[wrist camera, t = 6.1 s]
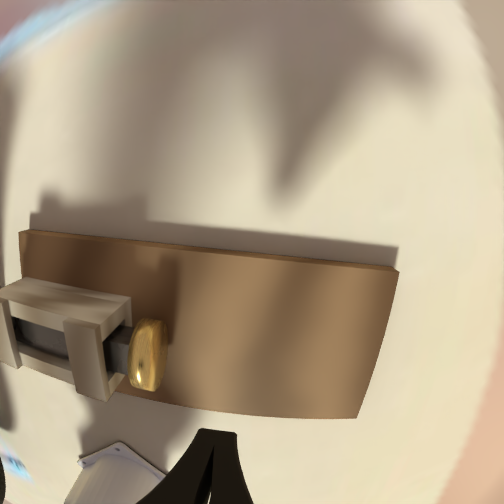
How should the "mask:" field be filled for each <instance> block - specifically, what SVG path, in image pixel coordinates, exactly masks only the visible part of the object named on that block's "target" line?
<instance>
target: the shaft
mask: <svg viewBox="0 0 504 504" xmlns="http://www.w3.org/2000/svg"><path fill="white" fill-rule="evenodd" d="M11 319H12V324H13V329H14V333H15V338H16V340H17V341H19V342H22V343H24V344H27V345H30V346H32V347H35V348H38V349H41V350H43V351H46V352H49V353H52V354H55V355H58V356H61V357H64V358H67V359H69V356H68V351H67V346H66V340H65V335H64V332H62V331H59V330H55V329H52V328H48V327H45V326H42V325H39V324H35V323H32V322H29V321H26V320H23V319H20V318H17V317H14V316H12V315H11ZM102 345H103V352H104V359H105V366H106V370H109V371H113V372H117V373H121V374H125V375H128V376H129V380H130V383H131V384H132V386H133V387H135V388H140V389H144V390H148V391H155V390H157V388H158V387H159V385H160V383H161V381H162V378H163V375H164V371H165V367H166V361H167V354H168V332H167V327H166V324H165V323H164V321H160V320H154V319H148V318H143V319H141V320H140V321H139V322H138V323H137V325H136V327H135V328H134V327H129V326H124V325H118V326H117V327H116V328H115V329H114V330H113V331H112V332H111V333H110V334H109V335H108V337H107V338H106V339H105V340H104V341H103V342H102Z"/></svg>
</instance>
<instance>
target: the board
mask: <svg viewBox="0 0 504 504" xmlns="http://www.w3.org/2000/svg"><path fill="white" fill-rule="evenodd" d="M19 251H20V263H21V274H22V279H20V280H18V281H16V282H13V283H11V284H9V285H7V286H5V287H3V288H1V289H0V361H1V362H3V363H5V364H7V365H10V366H12V367H14V368H16V369H18V368H20V367H21V366H22V365H24V366H26V367H29V368H31V369H33V370H36V371H38V372H41V373H43V374H46V375H49V376H51V377H54V378H57V379H59V380H62V381H65V382H68V383H71V384H73V385H75V387H76V391H77V393H79V394H82V395H85V396H88V397H91V398H94V399H98V400H101V401H104V402H107V401H108V400H109V398H110V397H111V395H112V394H113V392H114V391H117V392H121V393H125V394H129V395H133V396H137V397H141V398H145V399H150V400H154V401H159V402H164V403H169V404H174V405H179V406H185V407H191V408H197V409H203V410H210V411H217V412H225V413H233V414H242V415H253V416H264V417H279V418H301V419H353V418H357V416H358V413H359V410H360V408H361V405H362V402H363V400H364V397H365V394H366V391H367V389H368V386H369V383H370V380H371V377H372V374H373V371H374V368H375V365H376V361H377V358H378V355H379V352H380V348H381V345H382V341H383V338H384V334H385V331H386V327H387V323H388V319H389V316H390V312H391V308H392V303H393V299H394V295H395V290H396V286H397V281H398V277H399V272H398V271H397V270H396V269H394V268H393V267H388V266H379V265H369V264H359V263H349V262H340V261H330V260H320V259H310V258H301V257H291V256H281V255H271V254H262V253H252V252H242V251H232V250H223V249H213V248H203V247H194V246H184V245H174V244H164V243H155V242H145V241H135V240H126V239H116V238H106V237H97V236H87V235H77V234H68V233H58V232H48V231H39V230H25V231H21V232H19ZM11 315H12V316H14V317H17V318H20V319H23V320H26V321H29V322H32V323H35V324H39V325H42V326H45V327H48V328H52V329H55V330H59V331H62V332H64V335H65V340H66V346H67V351H68V356H69V359H67V358H64V357H61V356H58V355H55V354H52V353H49V352H46V351H43V350H41V349H38V348H35V347H32V346H30V345H27V344H24V343H22V342H19V341H17V340H16V338H15V333H14V329H13V324H12V319H11ZM143 318H148V319H154V320H160V321H164V323H165V324H166V327H167V332H168V354H167V361H166V367H165V371H164V375H163V378H162V381H161V383H160V385H159V387H158V388H157V390H155V391H148V390H144V389H140V388H135V387H133V386H132V384H131V383H130V380H129V376H128V375H125V374H121V373H117V372H113V371H109V370H106V366H105V359H104V352H103V345H102V342H103V341H104V340H105V339H106V338H107V337H108V335H109V334H110V333H111V332H112V331H113V330H114V329H115V328H116V327H117V326H118V325H124V326H129V327H134V328H135V327H136V325H137V323H138V322H139V321H140V320H141V319H143Z"/></svg>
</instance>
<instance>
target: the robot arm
mask: <svg viewBox="0 0 504 504" xmlns="http://www.w3.org/2000/svg"><path fill="white" fill-rule="evenodd" d="M77 463H78V465H80V466H81V467H82V468H83V470H82V471H81V473H80V475H79V477H78V478H77V480H76V482H75V484H74V485H73V487H72V489H71V491H70V492H69V494H68V496H67V498H66V499H65V502H64V504H207V503H208V500H209V496H210V493H211V497H210V502H209V504H254V503H253V501H252V498H251V496H250V493H249V491H248V488H247V485H246V482H245V479H244V476H243V472H242V469H241V465H240V461H239V455H238V449H237V434H236V433H235V432H227V431H219V430H212V429H205V428H201V429H199V430H198V432H197V434H196V436H195V437H194V439H193V441H192V443H191V444H190V446H189V447H188V449H187V450H186V452H185V453H184V454H183V456H182V457H181V458H180V460H179V461H178V462H177V464H176V465H175V466H174V467H173V468H172V470H171V471H170V472H169V473H168V474H167V475H165V474H163V473H162V472H160V471H159V470H157V469H156V468H155V467H153V466H152V465H151V464H149V463H148V462H146V461H145V460H144V459H142V458H141V457H140V456H139V455H137V454H136V453H135V452H133V451H132V450H131V449H130V448H128V447H127V446H126V445H125V444H123V443H121V442H117V443H115V444H113V445H111V446H109V447H106V448H104V449H102V450H100V451H98V452H95V453H93V454H91V455H88V456H86V457H84V458H81V459H79V460H78V461H77Z"/></svg>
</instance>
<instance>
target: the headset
mask: <svg viewBox="0 0 504 504" xmlns="http://www.w3.org/2000/svg"><path fill="white" fill-rule="evenodd" d="M5 490H6V484H5V474H4V469H3V465H2V461H1V458H0V504H3V501H4V498H5Z"/></svg>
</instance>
